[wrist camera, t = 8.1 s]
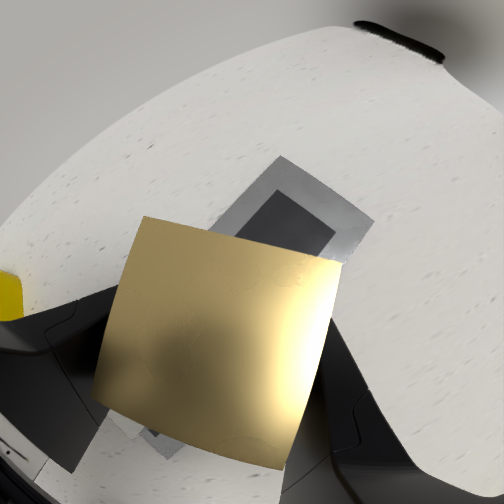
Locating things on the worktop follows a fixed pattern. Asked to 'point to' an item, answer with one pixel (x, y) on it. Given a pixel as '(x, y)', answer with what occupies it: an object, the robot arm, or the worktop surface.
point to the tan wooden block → (216, 340)
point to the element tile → (10, 297)
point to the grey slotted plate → (287, 229)
